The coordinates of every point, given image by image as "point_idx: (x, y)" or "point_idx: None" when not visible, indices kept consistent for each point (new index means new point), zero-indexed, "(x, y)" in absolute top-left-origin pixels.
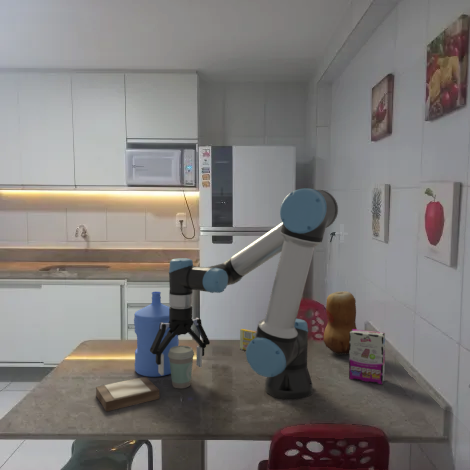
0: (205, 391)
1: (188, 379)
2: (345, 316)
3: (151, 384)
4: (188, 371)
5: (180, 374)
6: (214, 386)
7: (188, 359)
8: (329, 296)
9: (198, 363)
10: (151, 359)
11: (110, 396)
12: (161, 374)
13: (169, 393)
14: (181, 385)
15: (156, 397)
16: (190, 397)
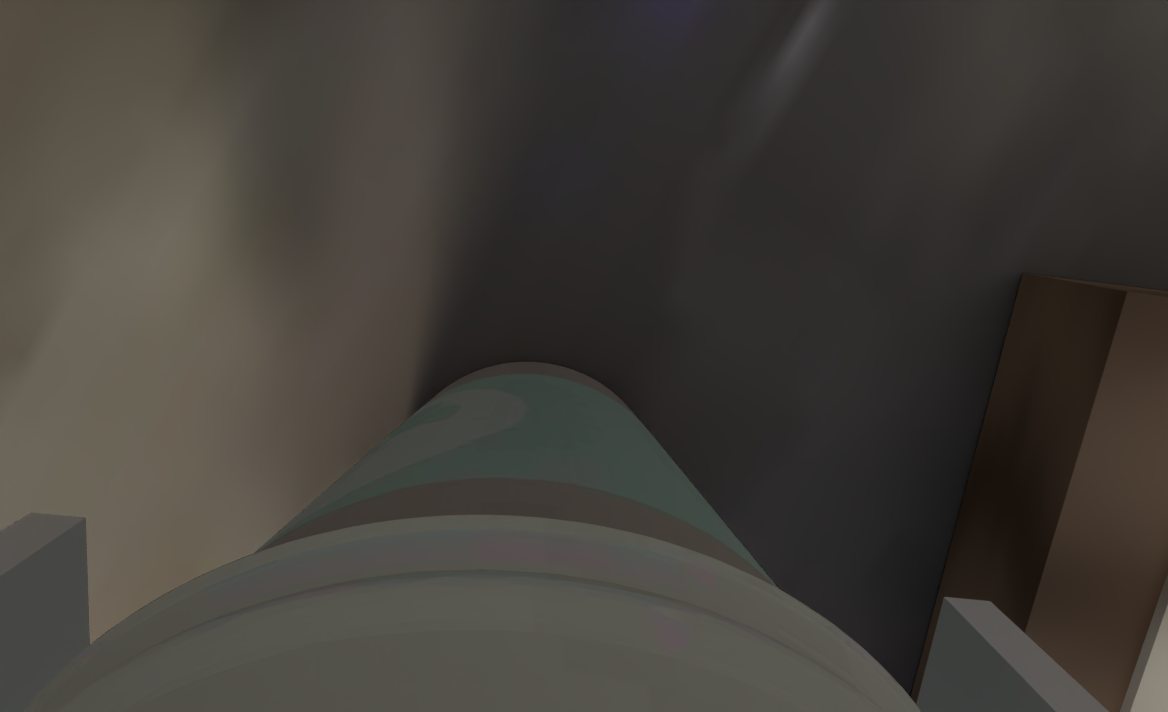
0: (337, 52)
1: (470, 387)
2: None
3: (1081, 550)
4: (461, 418)
5: (647, 444)
6: (108, 125)
7: (431, 525)
8: None
9: (41, 628)
10: None
11: None
12: (1000, 612)
13: (815, 340)
14: (598, 386)
15: (1082, 281)
16: (652, 15)
